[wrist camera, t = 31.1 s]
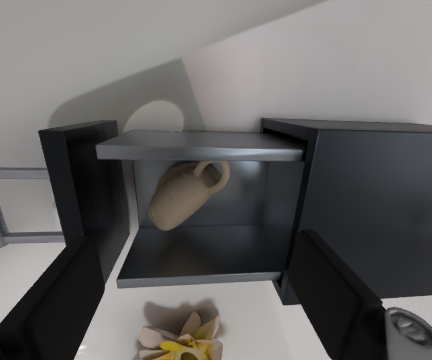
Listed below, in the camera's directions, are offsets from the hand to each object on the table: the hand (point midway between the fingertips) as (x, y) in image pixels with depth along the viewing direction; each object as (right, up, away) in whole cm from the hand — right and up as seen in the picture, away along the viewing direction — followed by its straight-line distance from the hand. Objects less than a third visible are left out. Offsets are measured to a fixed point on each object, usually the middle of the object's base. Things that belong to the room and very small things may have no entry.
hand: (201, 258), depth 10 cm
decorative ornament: (-2, +3, +10) cm, 10 cm away
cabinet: (+13, +4, +13) cm, 19 cm away
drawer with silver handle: (-5, +3, +10) cm, 12 cm away
